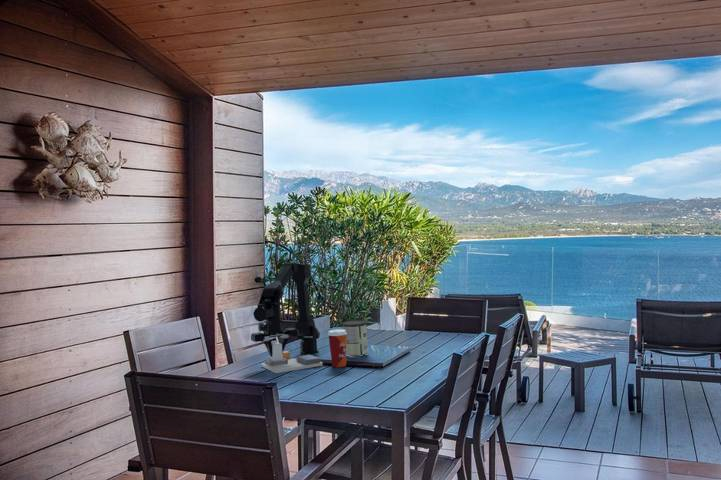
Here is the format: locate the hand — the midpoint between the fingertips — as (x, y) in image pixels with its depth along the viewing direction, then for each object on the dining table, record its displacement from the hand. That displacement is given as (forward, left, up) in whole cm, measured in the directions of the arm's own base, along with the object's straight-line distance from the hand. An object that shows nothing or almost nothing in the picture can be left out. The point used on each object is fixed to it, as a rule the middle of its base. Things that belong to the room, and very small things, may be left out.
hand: (276, 355), depth 274 cm
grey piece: (-11, +7, -3) cm, 13 cm away
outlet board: (-5, +4, -4) cm, 8 cm away
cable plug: (-6, -11, -4) cm, 13 cm away
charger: (0, 0, -2) cm, 2 cm away
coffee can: (-35, +3, -4) cm, 35 cm away
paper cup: (-20, +17, -4) cm, 27 cm away
